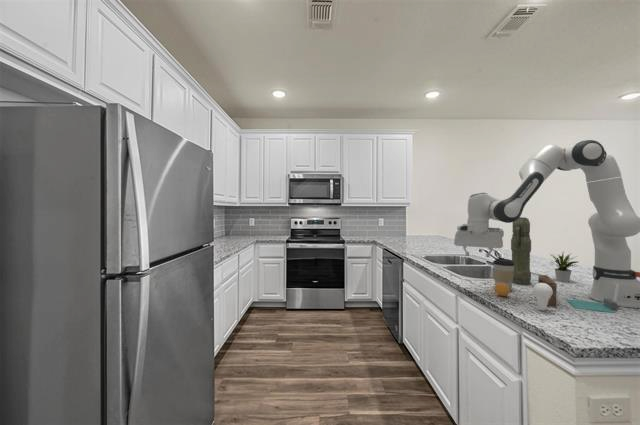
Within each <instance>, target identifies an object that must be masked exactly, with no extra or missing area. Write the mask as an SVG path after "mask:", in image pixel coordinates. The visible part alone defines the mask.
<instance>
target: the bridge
mask: <svg viewBox="0 0 640 425" xmlns="http://www.w3.org/2000/svg"><path fill="white" fill-rule="evenodd" d="M537 279H538V283H545V284H548V285H549V286H550V287H551V288H552V291H553V294H552V296H551V297H550V298H549V300H548V305H547V307H552V308H553V307H554V308H557V292H558V291H557V285H558V284H557V282H555V281H554V280H553V279H552V278H551V277H550V276H548V275H546V274H538V278H537ZM538 283H537V284H538Z"/></svg>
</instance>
